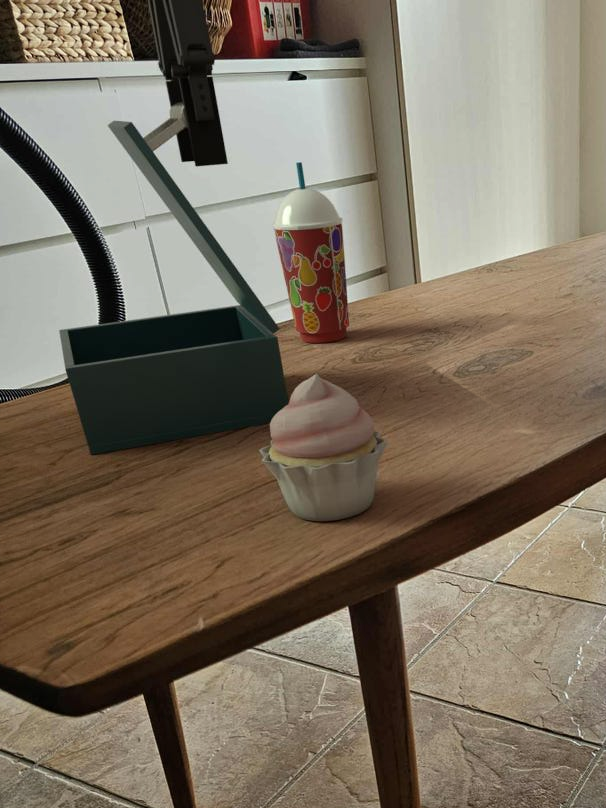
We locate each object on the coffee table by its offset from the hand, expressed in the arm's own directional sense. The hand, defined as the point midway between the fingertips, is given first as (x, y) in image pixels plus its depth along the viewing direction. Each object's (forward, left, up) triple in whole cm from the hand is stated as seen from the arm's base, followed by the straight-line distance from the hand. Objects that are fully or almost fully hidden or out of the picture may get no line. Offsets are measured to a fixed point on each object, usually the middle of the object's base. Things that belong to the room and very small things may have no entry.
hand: (203, 162), depth 82 cm
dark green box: (-7, 0, -22) cm, 23 cm away
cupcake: (0, -32, -22) cm, 39 cm away
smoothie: (+14, +22, -22) cm, 34 cm away
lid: (-2, 0, -5) cm, 6 cm away
